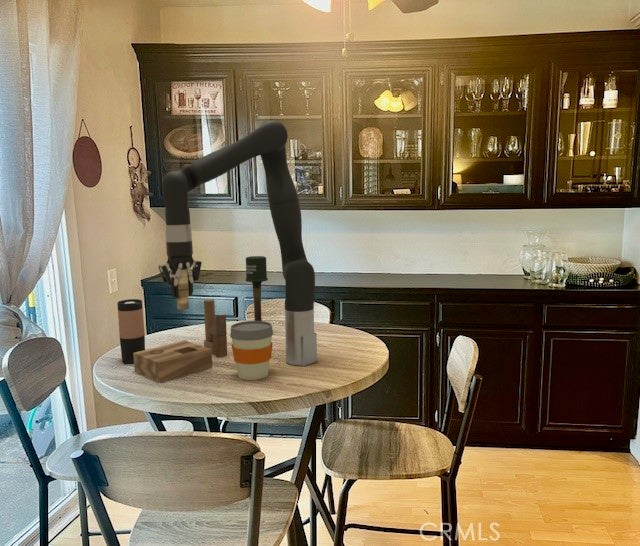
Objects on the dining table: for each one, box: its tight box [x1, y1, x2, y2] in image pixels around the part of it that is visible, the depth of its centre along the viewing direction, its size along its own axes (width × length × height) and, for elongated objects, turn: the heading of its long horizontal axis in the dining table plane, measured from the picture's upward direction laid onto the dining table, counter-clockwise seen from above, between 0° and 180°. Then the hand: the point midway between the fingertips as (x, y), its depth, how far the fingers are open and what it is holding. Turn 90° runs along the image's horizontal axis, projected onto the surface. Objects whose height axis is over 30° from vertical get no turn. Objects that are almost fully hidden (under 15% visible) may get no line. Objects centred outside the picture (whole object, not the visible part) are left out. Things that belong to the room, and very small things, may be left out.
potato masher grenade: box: [245, 255, 269, 321], centre depth 198 cm, size 8×9×30 cm
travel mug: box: [116, 298, 146, 365], centre depth 166 cm, size 8×8×20 cm
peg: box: [174, 269, 190, 311], centre depth 155 cm, size 4×4×12 cm
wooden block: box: [203, 298, 228, 358], centre depth 174 cm, size 4×11×18 cm, turn 38°
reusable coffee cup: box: [229, 320, 274, 381], centre depth 152 cm, size 12×13×15 cm
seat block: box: [133, 340, 213, 384], centre depth 158 cm, size 15×18×6 cm
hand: (182, 296), depth 155 cm, fingers closed on peg, 4 cm apart
